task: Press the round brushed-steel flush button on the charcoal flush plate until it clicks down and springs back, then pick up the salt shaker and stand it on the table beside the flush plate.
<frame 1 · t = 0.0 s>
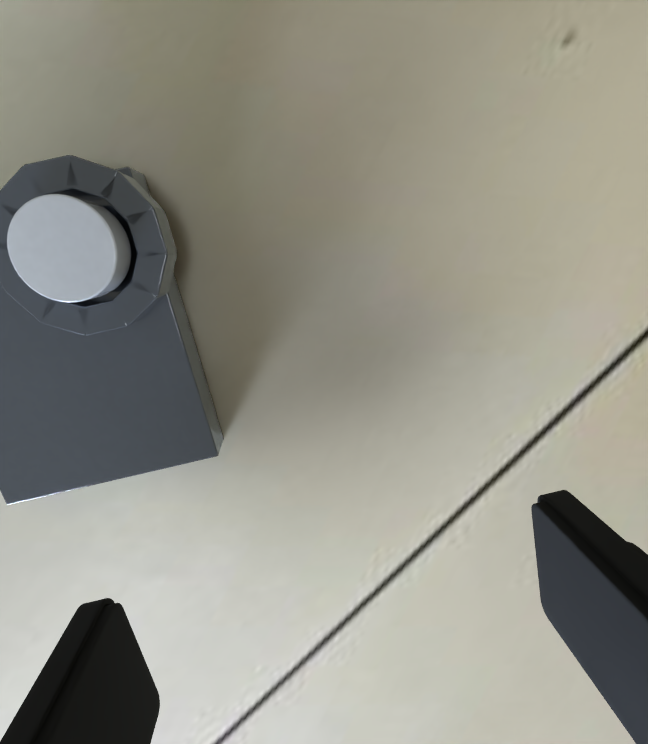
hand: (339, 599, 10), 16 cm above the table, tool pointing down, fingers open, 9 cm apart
flush button: (72, 249, 18), point 4 cm above the table, slide at 0.1 cm
flush plate: (82, 341, 23), on the table
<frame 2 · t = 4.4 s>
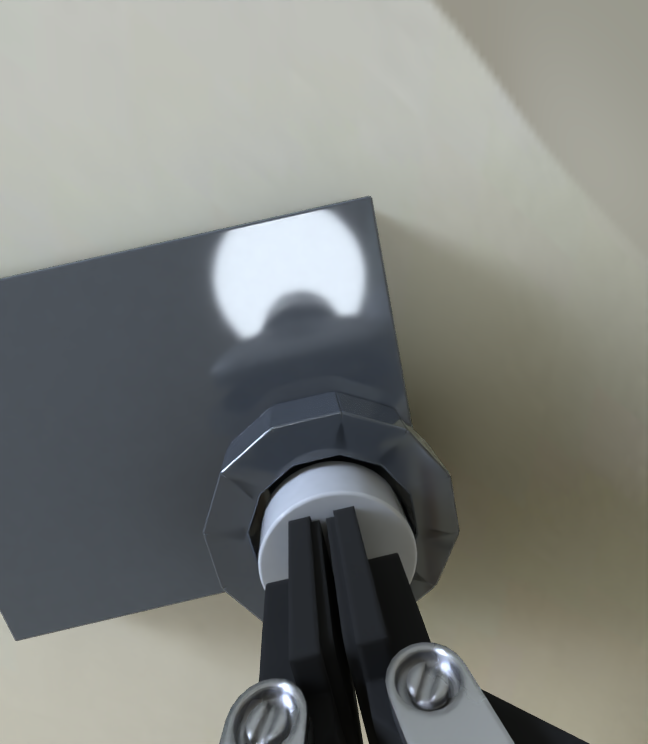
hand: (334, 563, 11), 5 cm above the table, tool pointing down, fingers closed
flush button: (335, 542, 12), point 4 cm above the table, slide at 0.0 cm, touching gripper
flush plate: (190, 415, 16), on the table
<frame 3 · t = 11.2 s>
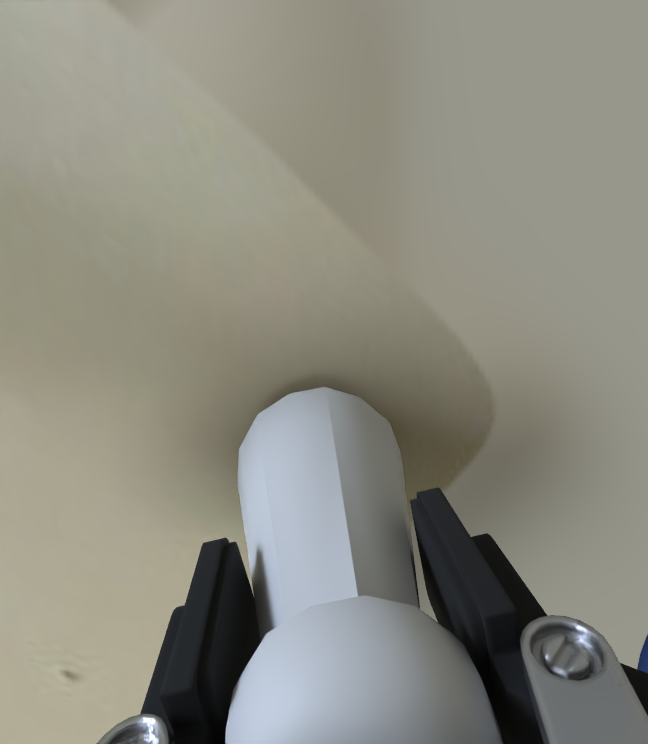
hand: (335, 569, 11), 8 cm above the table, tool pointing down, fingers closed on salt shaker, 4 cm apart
salt shaker: (315, 438, 19), on the table, touching gripper
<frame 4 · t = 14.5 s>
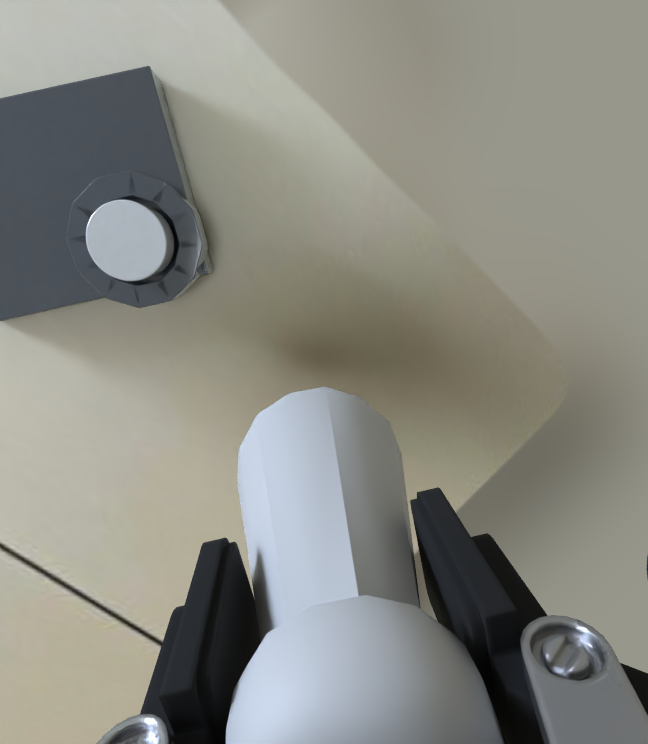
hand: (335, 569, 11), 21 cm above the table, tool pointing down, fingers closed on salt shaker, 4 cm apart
salt shaker: (315, 438, 19), point 13 cm above the table, touching gripper
flush button: (131, 241, 24), point 4 cm above the table, slide at 0.1 cm
flush plate: (74, 206, 27), on the table
when the fingers open (8 cm above the table, at t = 17.7 s): salt shaker stays where it is, on the table.
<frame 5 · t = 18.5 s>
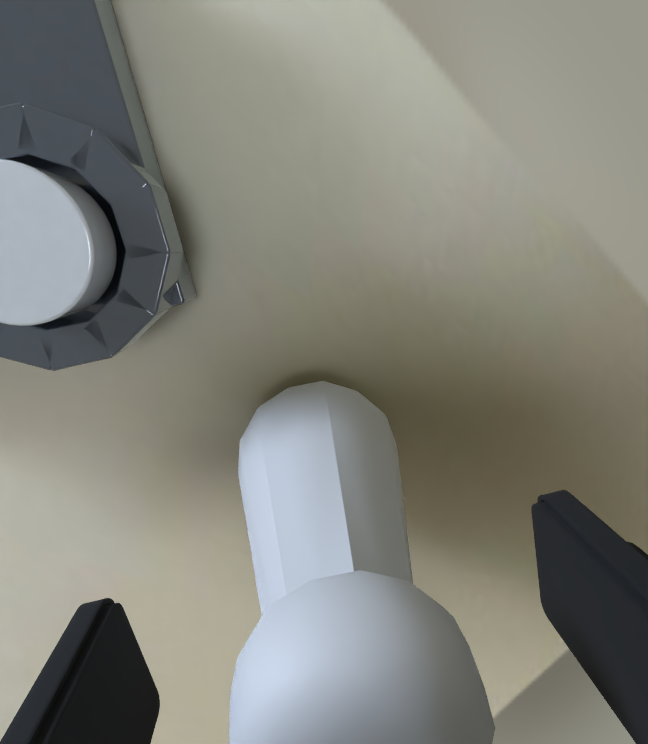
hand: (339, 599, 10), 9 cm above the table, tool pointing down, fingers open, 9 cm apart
salt shaker: (314, 431, 19), on the table
flush button: (27, 246, 12), point 4 cm above the table, slide at 0.1 cm
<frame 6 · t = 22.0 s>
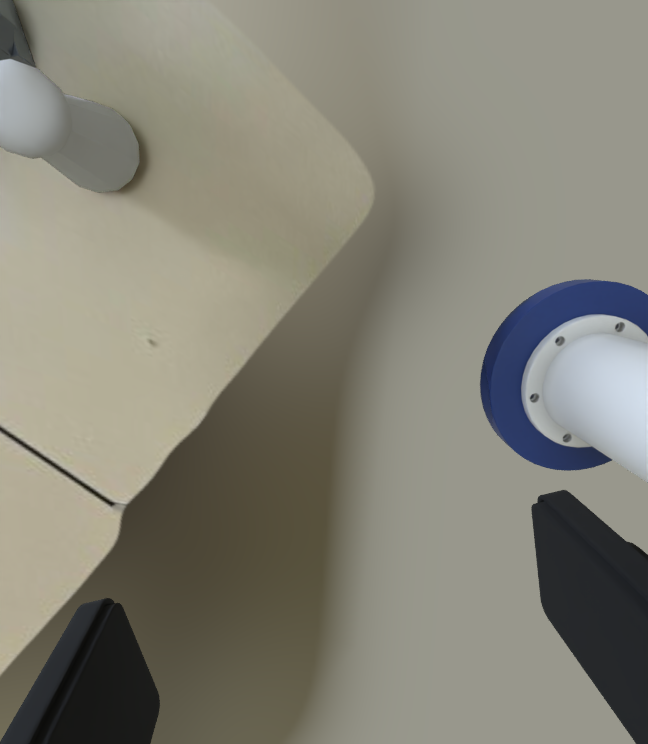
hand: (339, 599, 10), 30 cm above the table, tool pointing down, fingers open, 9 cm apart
salt shaker: (110, 155, 35), on the table
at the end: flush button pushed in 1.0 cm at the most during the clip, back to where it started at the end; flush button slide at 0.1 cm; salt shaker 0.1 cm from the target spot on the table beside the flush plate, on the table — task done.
